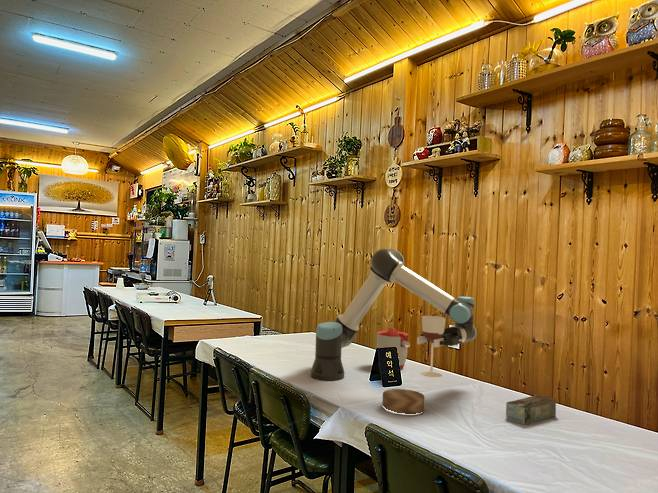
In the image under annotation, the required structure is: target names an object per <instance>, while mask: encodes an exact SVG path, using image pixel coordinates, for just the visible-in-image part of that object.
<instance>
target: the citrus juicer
mask: <svg viewBox="0 0 658 493" xmlns="http://www.w3.org/2000/svg"><path fill="white" fill-rule="evenodd" d="M410 346H411V344H410V342H409V333H407V332H404V331H397V329H396V328H395V327H394V326H391V327H390V328H389V329H388V330H379V331H376V349H377V348H383V347H396V348H397V353H398V357H399V363H400V368H401V369H400V370H402V369H404V367H405V364H406V361H407V356H408V348H410Z"/></svg>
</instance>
